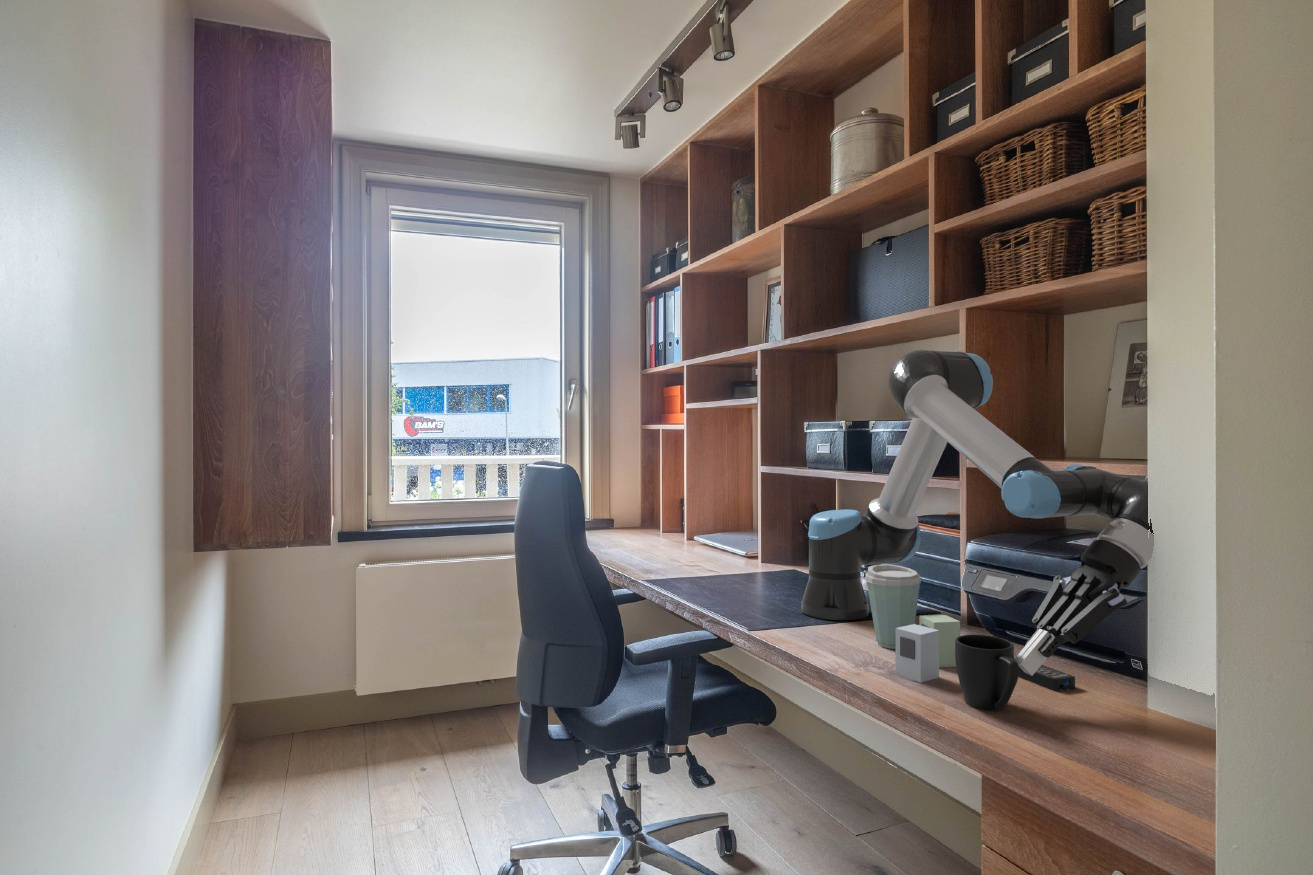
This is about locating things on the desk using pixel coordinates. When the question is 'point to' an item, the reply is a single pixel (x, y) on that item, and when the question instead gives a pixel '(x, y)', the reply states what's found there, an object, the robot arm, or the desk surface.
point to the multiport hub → (1050, 678)
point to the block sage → (944, 636)
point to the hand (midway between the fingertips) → (1022, 667)
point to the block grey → (917, 653)
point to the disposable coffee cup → (892, 600)
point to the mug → (986, 670)
